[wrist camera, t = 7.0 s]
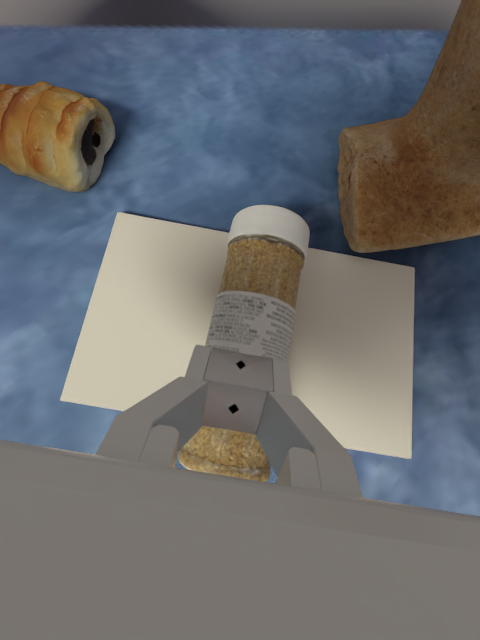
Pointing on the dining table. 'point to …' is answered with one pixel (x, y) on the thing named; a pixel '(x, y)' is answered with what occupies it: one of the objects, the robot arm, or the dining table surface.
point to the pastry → (54, 135)
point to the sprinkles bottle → (252, 323)
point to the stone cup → (420, 157)
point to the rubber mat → (195, 316)
